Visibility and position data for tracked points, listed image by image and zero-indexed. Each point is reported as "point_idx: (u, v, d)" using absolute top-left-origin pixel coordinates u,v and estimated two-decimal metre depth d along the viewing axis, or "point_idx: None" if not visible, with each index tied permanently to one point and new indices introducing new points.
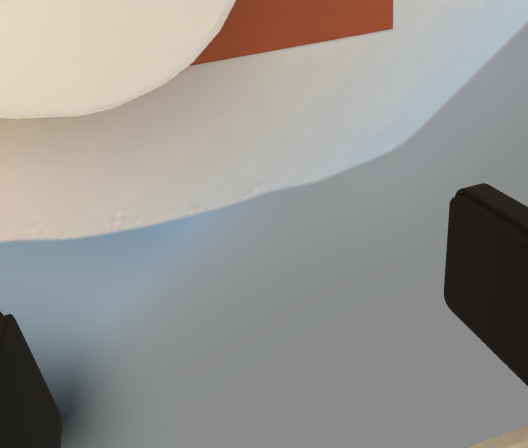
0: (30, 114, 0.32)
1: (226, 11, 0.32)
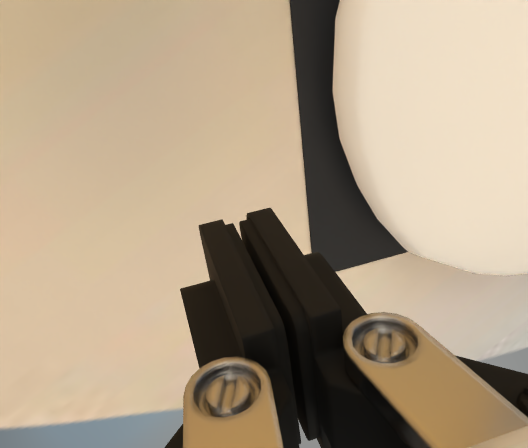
0: None
1: None
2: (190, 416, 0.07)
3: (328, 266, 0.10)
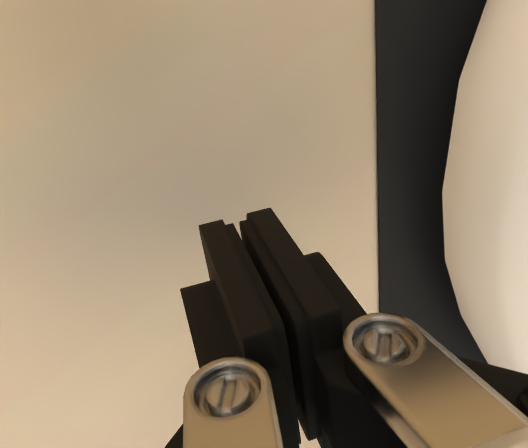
0: None
1: None
2: (190, 416, 0.07)
3: (328, 266, 0.10)
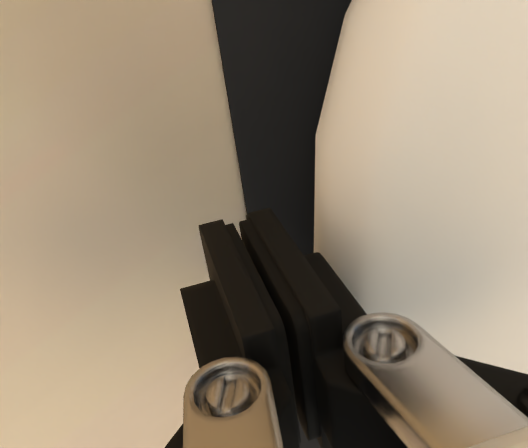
0: None
1: None
2: (190, 416, 0.07)
3: (328, 266, 0.10)
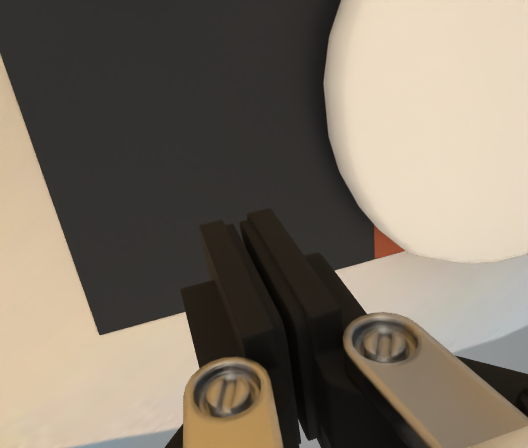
0: (512, 256, 0.35)
1: None
2: (190, 416, 0.07)
3: (328, 266, 0.10)
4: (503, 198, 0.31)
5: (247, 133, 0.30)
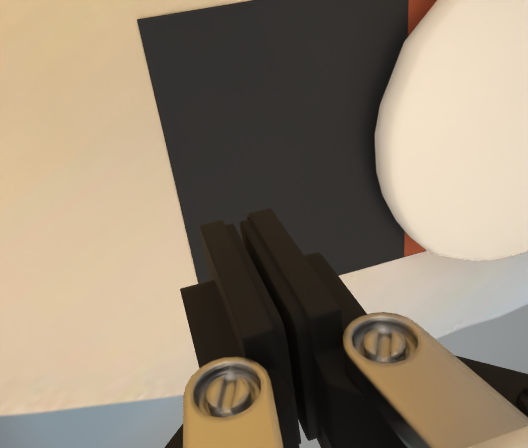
0: (508, 255, 0.47)
1: None
2: (190, 416, 0.07)
3: (328, 266, 0.10)
4: (501, 215, 0.43)
5: (318, 169, 0.42)
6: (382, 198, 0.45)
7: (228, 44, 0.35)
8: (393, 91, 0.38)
